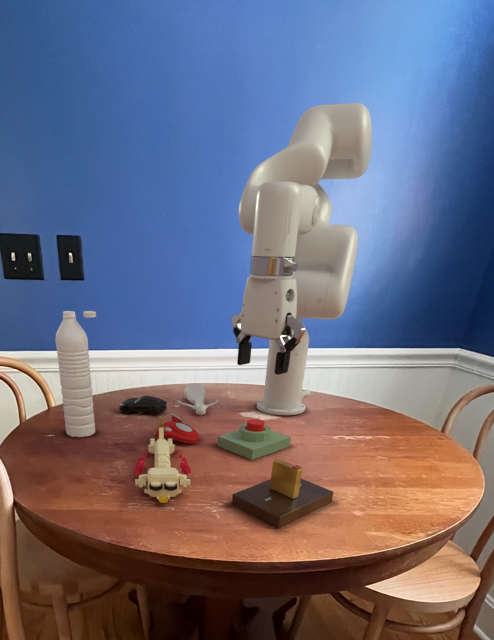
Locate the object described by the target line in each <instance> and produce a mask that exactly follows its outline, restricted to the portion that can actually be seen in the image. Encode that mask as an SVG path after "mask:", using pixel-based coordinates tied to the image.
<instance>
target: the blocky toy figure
mask: <svg viewBox="0 0 494 640" xmlns="http://www.w3.org/2000/svg"><path fill="white" fill-rule="evenodd" d="M164 420H165V418H164V416H158V427H159V439H157V440H155V438H150V439H149V444H147V446H146V447H147V449H146V450H147V451H148V452H147V451H146V452H145V453H142V456H140V457H138V459H137V464H136V465H135V467H134V468H133V469H134V470H133V472H134V474H135V475H136V476H137V477H138V478H135V479H134V483H135V484H134V485H135V486H136V487H137V486H138V488H143V486H145V487H146V486H147V488H144V491H143V492H144V494H147V495H149V497H151V498H156V500H158V503H161V504H164V503H165V504H166V503H169V500H171V498H175V497H177V496H178V495H179V494H181V493H182V492H183V490H182V488H180V486H183V488H187V487H188V486H191V483H192V482H191V481H192V480H191V478H188V475H190V474H191V471H192V470H191V469H192V468H191V466H190V464H188V459H187V458H186V456H183V454H182V453H180V452H179V451H178V452H176V444H174V443H173V439H170V438H167V439H164V423H165V421H164ZM149 454H150V455H154V467H151V468H149V469H147V473H144V468H146V463H145V461H144V459H146V458H147V456H148V455H149ZM173 454H176V455H177V456H178V459H181V461H179V468H181V473H179V469H177V468H175V467H171V466H172V465H171V455H173ZM135 486H134V487H135Z"/></svg>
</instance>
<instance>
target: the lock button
mask: <svg viewBox="0 0 494 640" xmlns="http://www.w3.org/2000/svg"><path fill="white" fill-rule="evenodd" d="M246 424H247V430H249V431H254V432H261V431H264V425H265V424H266V423H265V421H264V420H263V419H258V418H251V419H248V420H247V421H246Z"/></svg>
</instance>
